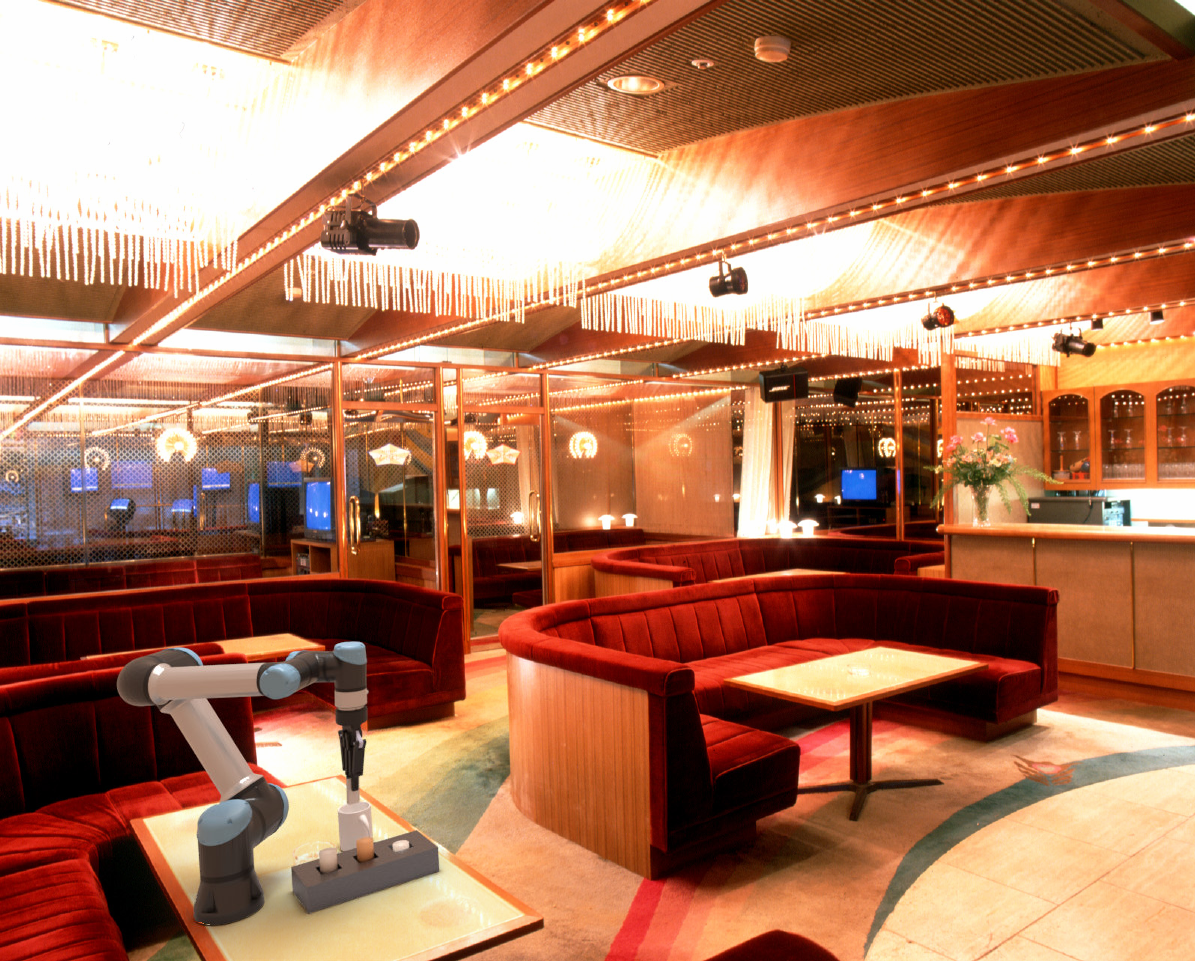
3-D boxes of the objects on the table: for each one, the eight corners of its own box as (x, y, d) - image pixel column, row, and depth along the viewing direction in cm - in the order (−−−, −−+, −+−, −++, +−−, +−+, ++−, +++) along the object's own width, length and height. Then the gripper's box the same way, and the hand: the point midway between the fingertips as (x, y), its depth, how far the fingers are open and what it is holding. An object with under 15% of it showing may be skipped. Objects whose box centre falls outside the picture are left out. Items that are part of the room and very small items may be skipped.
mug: (355, 859, 220) (353, 818, 221) (334, 847, 229) (332, 808, 229) (385, 848, 226) (382, 808, 226) (363, 837, 235) (361, 798, 235)
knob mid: (360, 865, 205) (359, 845, 205) (355, 860, 208) (354, 840, 208) (376, 861, 207) (375, 840, 207) (371, 855, 210) (369, 835, 210)
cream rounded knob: (397, 868, 210) (395, 848, 210) (391, 862, 213) (390, 843, 213) (412, 863, 212) (411, 843, 212) (406, 858, 215) (405, 838, 215)
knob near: (322, 877, 200) (321, 856, 200) (318, 871, 203) (316, 850, 203) (339, 872, 202) (338, 851, 202) (334, 866, 205) (333, 845, 205)
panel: (308, 913, 193) (306, 887, 193) (292, 891, 204) (291, 866, 204) (439, 871, 211) (438, 846, 211) (418, 852, 222) (416, 830, 222)
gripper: (376, 708, 204) (378, 806, 204) (356, 698, 215) (358, 791, 215) (345, 714, 200) (347, 814, 200) (327, 703, 210) (329, 798, 210)
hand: (353, 802), depth 207 cm, fingers closed
